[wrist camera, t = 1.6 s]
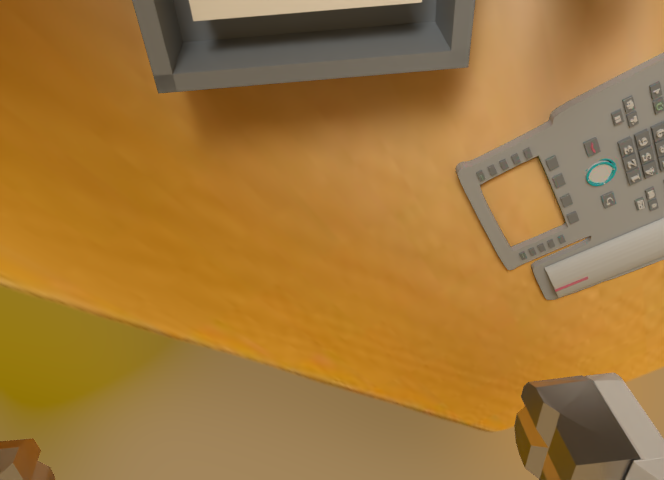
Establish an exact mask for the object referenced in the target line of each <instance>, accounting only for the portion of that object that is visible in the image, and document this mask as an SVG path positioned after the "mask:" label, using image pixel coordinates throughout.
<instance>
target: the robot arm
mask: <svg viewBox="0 0 664 480" xmlns="http://www.w3.org/2000/svg"><path fill="white" fill-rule="evenodd" d="M521 398H522V400H523V402H524V404H525V407H524V408H523V409H521V410H520V411H519V412H518V413H517V416H516V421H515V438H516V444H517V447H518V451H519V455H520V457H521V459H522V462H523V464H524V467H525V468H526V469H527V470H528V471H530V472H531V473H532V474H533V475H535V476H536V477H537V478H539V480H664V439H663V437H662V436H661V434H660V433H659V432H658V430H657V429H656V427H655V426H654V424H653V423H652V421H651V420H650V419H649V417H648V416H647V414H646V413H645V411H644V410H643V408H642V407H641V406H640V404H639V403H638V401H637V400H636V399H635V397H634V396H633V394H632V393H631V391H630V390H629V388H628V387H627V385H626V384H625V382H624V381H623V380H622V378H621V377H620V376H618V375H617V374H616V373H605V374H597V375H589V376H574V377H566V378H558V379H550V380H542V381H534V382H528V383H527V384H526V385H525V386H524V388H523V391H522V395H521ZM40 452H41V450H40V448H39V447H38V445H37V444H36V442H35V440H34V439H22V440H10V441H0V480H55V476H54V474H53V472H52V470H51V468H50V467H49V466H47V465H45V464H43V463H41V462H39V461H38V458H39V455H40Z"/></svg>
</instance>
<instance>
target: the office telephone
mask: <svg viewBox="0 0 664 480" xmlns="http://www.w3.org/2000/svg"><path fill="white" fill-rule="evenodd" d="M536 156H538V157H539V159H540V162H541V164H542V166H543V168H544V170H545V173H546V175H547V178H548V180H549V182H550V185H551V187H552V190H553V192H554V195H555V197H556V199H557V202H558V204H559V207H560V209H561V212H562V214H563V217H564V220H565V223H564V224H563V225H561V226H559V227H556V228H554V229H552V230H549V231H547V232H545V233H543V234H540V235H538V236H536V237H533V238H531V239H529V240H526V241H524V242H522V243H519V244H517V245H514V246H512V247H510V245H509V243H508V242H507V240H506V238H505V236H504V235H503V233H502V231H501V229H500V227H499V225H498V223H497V221H496V220H495V218H494V216H493V214H492V212H491V210H490V208H489V206H488V204H487V202H486V200H485V198H484V196H483V194H482V191H481V188H480V185H481V184H482V183H484V182H486V181H488V180H490V179H492V178H494V177H496V176H498V175H500V174H502V173H504V172H506V171H508V170H509V169H511V168H513V167H515V166H517V165H519V164H521V163H524V162H526V161H528V160H530V159H532V158H534V157H536ZM610 161H611V163H610ZM456 173H457V175H458V178H459V180H460V182H461V185H462V187H463V189H464V191H465V193H466V195H467V197H468V198H469V200H470V202H471V204H472V206H473V208H474V210H475V212H476V214H477V216H478V218H479V220H480V222H481V224H482V226H483V228H484V230H485V232H486V234H487V235H488V237H489V239H490V241H491V243H492V245H493V247H494V249H495V251H496V252H497V254H498V256H499V258H500V259H501V261H502V262H503V264H504V265H505V267H506V268H507V269H508V270H513V269H515V268H516V267H518V266H520V265H522V264H524V263H527V262H529V261H531V260H533V259H536V258H538V257H540V256H543V255H545V254H547V253H550V252H552V251H554V250H557V249H559V248H562V247H564V246H566V245H569V244H571V243H574V242H576V241H578V240H581V239H583V238H586V237H587V238H586V239H585V240H583V241H581V242H579V243H577V244H574V245H572V246H570V247H568V248H565V249H563V250H561V251H558V252H556V253H554V254H551V255H549V256H547V257H544V258H542V259H540V260H538V261H535V262H534V263H532V264H531V268H532V271H533V273H534V276H535V278H536V280H537V282H538V284H539V286H540V288H541V290H542V292H543V295H544V297H545V298H546V299H547V300H554V299H558V298H561V297H563V296H566V295H569V294H572V293H575V292H578V291H580V290H583V289H586V288H588V287H591V286H594V285H596V284H599V283H601V282H603V281H607V280H611V279H613V278H616V277H619V276H622V275H624V274H627V273H629V272H632V271H635V270H637V269H640V268H643V267H645V266H648V265H650V264H653V263H656V262H658V261H661V260H664V52H663V53H662V54H660V55H658V56H656V57H654V58H652V59H650V60H648V61H646V62H644V63H642V64H640V65H638V66H636V67H634V68H632V69H630V70H628V71H626V72H624V73H622V74H621V75H619V76H617V77H615V78H613V79H611V80H609V81H607V82H605V83H603V84H601V85H599V86H597V87H595V88H593V89H591V90H589V91H587V92H585V93H583V94H582V95H580V96H578V97H576V98H574V99H572V100H570V101H568V102H566V103H565V104H563V105H561V106H560V107H558V108H556V109H555V110H554V111H552V113H551V114H550V117H549V120H548V121H547V122H545V123H544V124H542V125H540V126H538V127H537V128H535V129H533V130H531V131H529V132H527V133H525V134H523V135H521V136H519V137H517V138H515V139H514V140H512V141H510V142H508V143H506V144H504V145H502V146H500V147H498V148H496V149H494V150H492V151H490V152H488V153H486V154H484V155H482V156H480V157H478V158H475V159H473V160H471V161H467V162H461V163H459V164H458V165H457V166H456Z"/></svg>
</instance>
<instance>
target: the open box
mask: <svg viewBox="0 0 664 480" xmlns="http://www.w3.org/2000/svg"><path fill="white" fill-rule="evenodd" d="M132 1H133V5H134V9H135V12H136V16H137V19H138V23H139V26H140V30H141V33H142V37H143V40H144V44H145V48H146V51H147V55H148V58H149V62H150V65H151V69H152V72H153V76H154V79H155V83H156V87H157V90H158V93H169V92H181V91H193V90H205V89H216V88H228V87H240V86H252V85H264V84H276V83H288V82H300V81H312V80H323V79H335V78H347V77H359V76H371V75H383V74H395V73H407V72H419V71H430V70H442V69H454V68H466V67H468V64H469V55H470V45H471V36H472V26H473V17H474V8H475V0H132Z"/></svg>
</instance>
